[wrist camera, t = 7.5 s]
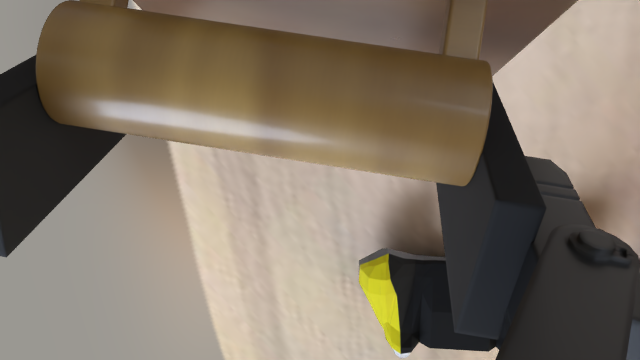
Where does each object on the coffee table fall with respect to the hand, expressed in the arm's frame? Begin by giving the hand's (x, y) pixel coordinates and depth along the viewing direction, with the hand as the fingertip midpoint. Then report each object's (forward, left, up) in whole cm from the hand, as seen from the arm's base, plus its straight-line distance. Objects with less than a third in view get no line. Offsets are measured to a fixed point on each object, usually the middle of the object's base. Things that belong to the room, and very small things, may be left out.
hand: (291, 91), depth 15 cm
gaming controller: (+22, +12, -23) cm, 34 cm away
